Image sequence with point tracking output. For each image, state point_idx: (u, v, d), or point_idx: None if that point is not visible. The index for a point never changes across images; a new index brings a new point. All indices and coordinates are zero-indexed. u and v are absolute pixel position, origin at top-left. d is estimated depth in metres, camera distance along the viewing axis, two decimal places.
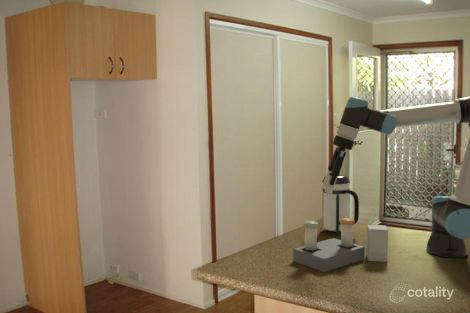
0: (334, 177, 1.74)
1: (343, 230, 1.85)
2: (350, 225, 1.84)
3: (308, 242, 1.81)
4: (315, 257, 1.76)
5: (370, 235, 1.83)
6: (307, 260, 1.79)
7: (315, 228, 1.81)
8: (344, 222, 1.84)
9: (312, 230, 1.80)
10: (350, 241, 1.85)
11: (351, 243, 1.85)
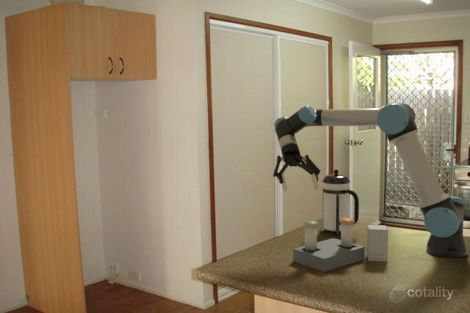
0: (278, 176, 1.94)
1: (343, 230, 1.85)
2: (350, 225, 1.84)
3: (308, 242, 1.81)
4: (315, 257, 1.76)
5: (370, 235, 1.83)
6: (307, 260, 1.79)
7: (315, 228, 1.81)
8: (344, 222, 1.84)
9: (312, 230, 1.80)
10: (350, 241, 1.85)
11: (351, 243, 1.85)
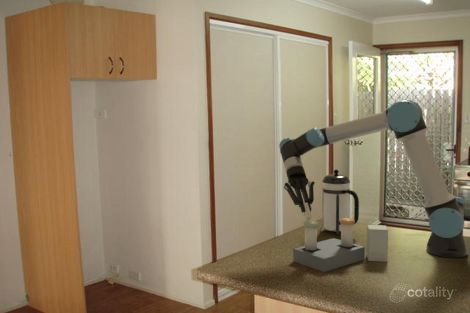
0: (300, 204, 1.87)
1: (343, 230, 1.85)
2: (350, 225, 1.84)
3: (308, 242, 1.81)
4: (315, 257, 1.76)
5: (370, 235, 1.83)
6: (307, 260, 1.79)
7: (315, 228, 1.81)
8: (344, 222, 1.84)
9: (312, 230, 1.80)
10: (350, 241, 1.85)
11: (351, 243, 1.85)
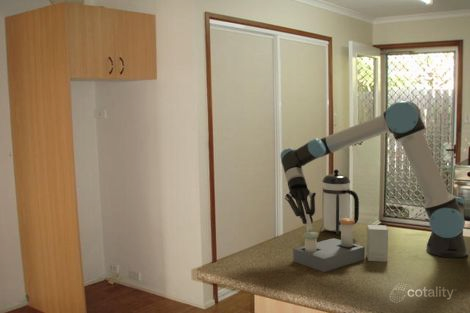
0: (301, 216, 1.86)
1: (343, 230, 1.85)
2: (350, 225, 1.84)
3: None
4: (315, 257, 1.76)
5: (370, 235, 1.83)
6: (307, 260, 1.79)
7: (315, 239, 1.81)
8: (344, 222, 1.84)
9: (312, 241, 1.81)
10: (350, 241, 1.85)
11: (351, 243, 1.85)
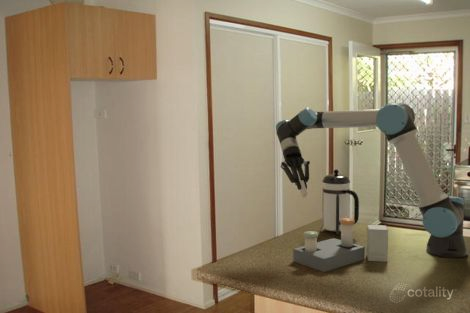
0: (296, 182, 1.95)
1: (343, 230, 1.85)
2: (350, 225, 1.84)
3: None
4: (315, 257, 1.76)
5: (370, 235, 1.83)
6: (307, 260, 1.79)
7: (315, 239, 1.81)
8: (344, 222, 1.84)
9: (312, 240, 1.81)
10: (350, 241, 1.85)
11: (351, 243, 1.85)
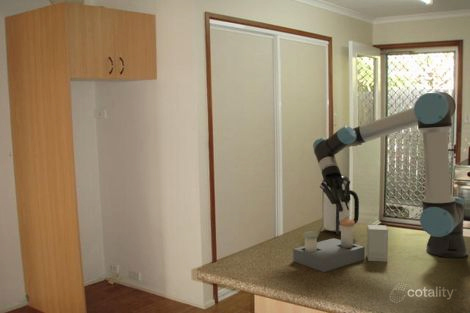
0: (337, 204, 1.90)
1: (343, 231, 1.85)
2: (350, 226, 1.84)
3: None
4: (315, 257, 1.76)
5: (370, 235, 1.83)
6: (307, 260, 1.79)
7: (315, 239, 1.81)
8: (344, 223, 1.84)
9: (312, 240, 1.81)
10: (350, 242, 1.85)
11: (351, 244, 1.85)
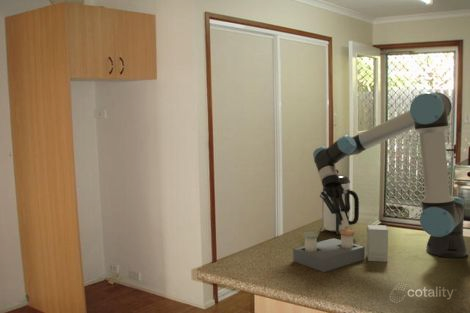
0: (337, 213, 1.90)
1: (343, 241, 1.85)
2: (350, 236, 1.85)
3: None
4: (315, 257, 1.76)
5: (370, 235, 1.83)
6: (307, 260, 1.79)
7: (315, 239, 1.81)
8: (344, 233, 1.84)
9: (312, 240, 1.81)
10: None
11: None
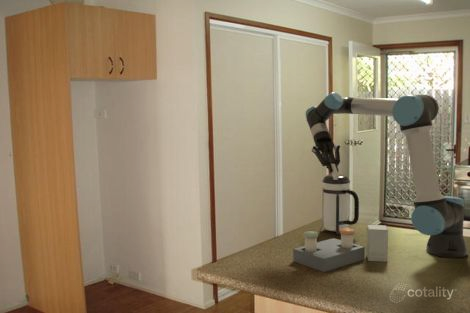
0: (327, 165, 2.02)
1: (343, 240, 1.85)
2: (350, 235, 1.84)
3: None
4: (315, 257, 1.76)
5: (370, 235, 1.83)
6: (307, 260, 1.79)
7: (315, 239, 1.81)
8: (344, 232, 1.84)
9: (312, 240, 1.81)
10: None
11: None
